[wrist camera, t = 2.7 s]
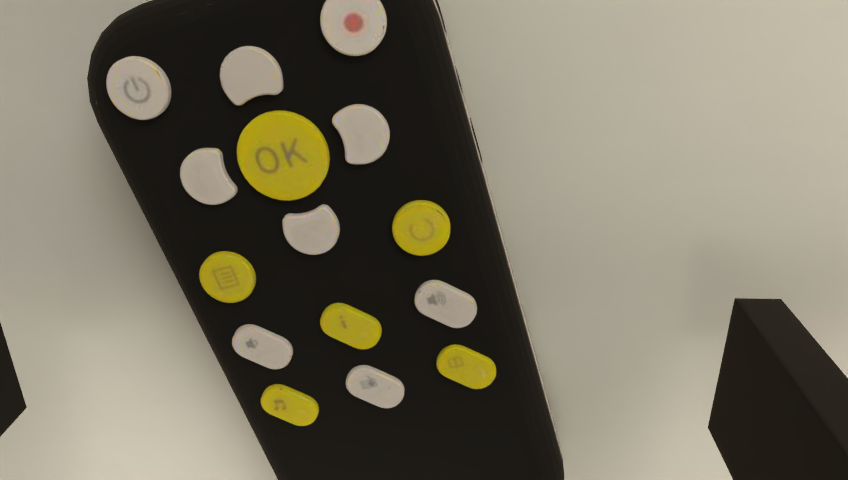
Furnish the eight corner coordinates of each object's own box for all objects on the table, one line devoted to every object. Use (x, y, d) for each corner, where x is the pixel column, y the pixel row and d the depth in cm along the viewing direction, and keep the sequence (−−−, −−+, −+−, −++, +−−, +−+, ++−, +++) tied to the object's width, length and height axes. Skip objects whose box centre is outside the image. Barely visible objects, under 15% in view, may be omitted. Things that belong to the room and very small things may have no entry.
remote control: (330, 516, 18) (315, 585, 16) (93, 22, 13) (32, 38, 11) (568, 471, 17) (582, 539, 15) (416, -86, 12) (407, -86, 10)
